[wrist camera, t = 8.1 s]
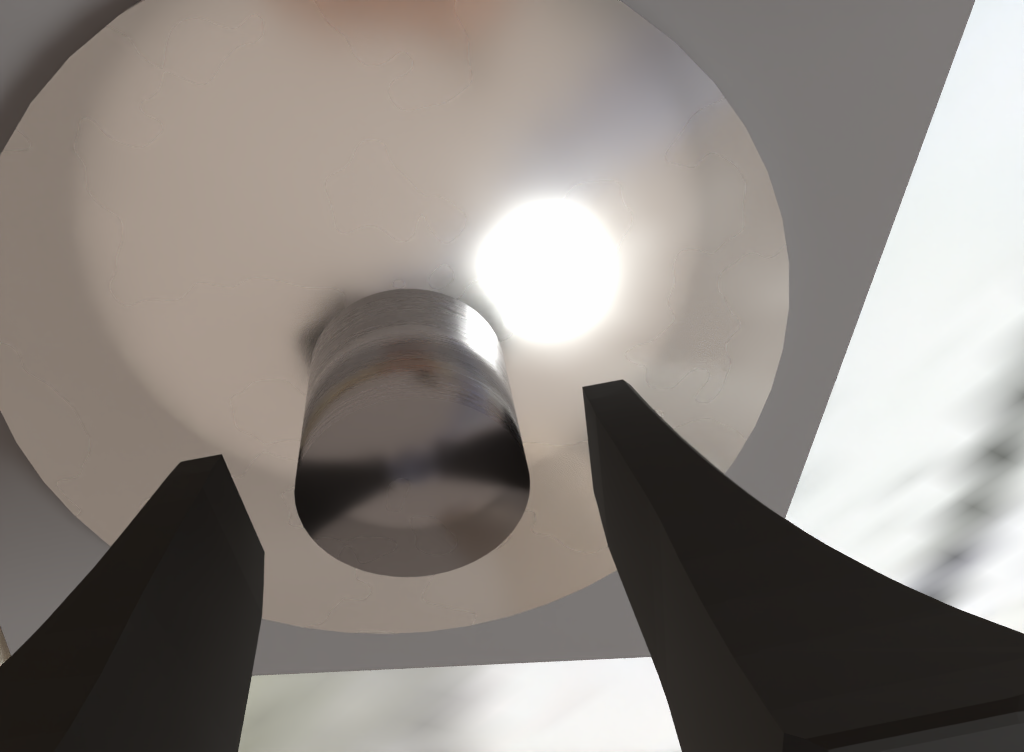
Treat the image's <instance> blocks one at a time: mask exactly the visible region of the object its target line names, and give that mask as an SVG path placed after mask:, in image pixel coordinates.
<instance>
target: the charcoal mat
mask: <svg viewBox="0 0 1024 752" xmlns="http://www.w3.org/2000/svg"><path fill="white" fill-rule="evenodd" d="M139 1H141V0H0V156H1V153H2V151H3V150H4V148H5V146H6V144H7V143H8V141H9V139H10V138H11V136H12V134H13V132H14V131H15V129H16V127H17V126H18V124H19V122H20V121H21V119H22V117H23V115H24V114H25V112H26V110H27V109H28V107H29V105H30V103H31V102H32V101H33V100H34V99H35V97H36V96H37V95H38V94H39V93H40V92H41V90H42V89H43V88H44V87H45V86H46V84H47V83H48V82H49V81H50V80H51V79H52V77H53V76H54V75H55V74H56V73H57V71H58V70H59V69H60V68H61V67H62V65H63V64H64V63H65V62H66V61H67V60H68V58H69V57H70V56H71V55H73V54H74V53H75V52H76V51H77V50H79V49H80V48H81V47H82V46H83V45H84V44H86V43H87V42H88V41H89V40H90V39H92V38H93V37H94V36H95V35H96V34H97V33H99V32H100V31H101V30H102V29H103V28H105V27H106V26H107V25H108V24H109V23H111V22H112V21H113V20H114V19H115V18H116V17H118V16H119V15H120V14H121V13H123V12H124V11H125V10H127V9H128V8H129V7H131V6H133V5H134V4H136V3H138V2H139ZM620 1H622V2H623V3H624V4H626V5H627V6H628V7H630V8H631V9H632V10H634V11H635V12H636V13H638V14H639V15H640V16H642V17H643V18H644V19H645V20H647V21H648V22H649V23H651V24H652V25H653V26H655V27H656V28H657V29H659V30H660V31H661V32H663V33H664V34H665V35H666V36H668V37H669V38H670V39H672V40H673V41H674V42H675V43H676V44H677V45H678V46H679V47H680V48H681V49H682V50H683V51H684V52H685V53H686V54H687V55H688V56H689V57H690V58H691V59H692V60H693V61H694V62H695V63H696V64H697V65H698V66H699V67H700V68H701V70H702V71H703V72H704V73H705V74H706V75H707V76H708V77H709V78H710V79H711V80H712V81H713V82H714V83H715V84H716V86H717V87H718V89H719V90H720V91H721V93H722V94H723V96H724V97H725V99H726V100H727V101H728V103H729V104H730V106H731V107H732V108H733V110H734V111H735V113H736V114H737V115H738V117H739V118H740V120H741V121H742V123H743V124H744V125H745V127H746V129H747V131H748V133H749V135H750V137H751V139H752V141H753V143H754V145H755V147H756V149H757V151H758V153H759V155H760V157H761V159H762V161H763V163H764V165H765V167H766V169H767V171H768V174H769V177H770V181H771V184H772V187H773V190H774V193H775V197H776V200H777V203H778V206H779V209H780V212H781V216H782V220H783V227H784V233H785V240H786V246H787V253H788V260H789V311H788V318H787V325H786V332H785V338H784V345H783V351H782V354H781V358H780V361H779V365H778V368H777V371H776V375H775V378H774V382H773V385H772V389H771V391H770V393H769V396H768V398H767V400H766V402H765V405H764V407H763V409H762V412H761V414H760V416H759V418H758V421H757V423H756V425H755V427H754V429H753V431H752V432H751V434H750V436H749V437H748V439H747V441H746V442H745V444H744V446H743V447H742V449H741V451H740V452H739V454H738V456H737V457H736V459H735V461H734V462H733V463H732V465H731V466H730V467H729V469H728V470H727V471H726V472H725V475H726V476H727V477H729V478H730V479H731V480H733V481H734V482H735V483H736V484H738V485H739V486H740V487H742V488H743V489H744V490H745V491H747V492H748V493H749V494H751V495H752V496H753V497H755V498H756V499H757V500H759V501H760V502H762V503H763V504H764V505H766V506H767V507H768V508H770V509H771V510H773V511H774V512H776V513H777V514H779V515H780V516H781V517H783V518H785V517H786V514H787V511H788V509H789V506H790V503H791V500H792V498H793V495H794V492H795V490H796V487H797V484H798V481H799V479H800V476H801V473H802V471H803V468H804V465H805V462H806V460H807V457H808V454H809V451H810V449H811V446H812V443H813V441H814V438H815V435H816V432H817V430H818V427H819V424H820V422H821V419H822V416H823V413H824V411H825V408H826V405H827V402H828V400H829V397H830V394H831V392H832V389H833V386H834V383H835V381H836V378H837V375H838V373H839V370H840V367H841V364H842V362H843V359H844V356H845V353H846V351H847V348H848V345H849V343H850V340H851V337H852V334H853V332H854V329H855V326H856V323H857V321H858V318H859V315H860V313H861V310H862V307H863V304H864V302H865V299H866V296H867V294H868V291H869V288H870V285H871V283H872V280H873V277H874V274H875V272H876V269H877V266H878V264H879V261H880V258H881V255H882V253H883V250H884V247H885V245H886V242H887V239H888V236H889V234H890V231H891V228H892V225H893V223H894V220H895V217H896V215H897V212H898V209H899V206H900V204H901V201H902V198H903V196H904V193H905V190H906V187H907V185H908V182H909V179H910V176H911V174H912V171H913V168H914V166H915V163H916V160H917V157H918V155H919V152H920V149H921V146H922V144H923V141H924V138H925V136H926V133H927V130H928V127H929V125H930V122H931V119H932V117H933V114H934V111H935V108H936V106H937V103H938V100H939V97H940V95H941V92H942V89H943V87H944V84H945V81H946V78H947V76H948V73H949V70H950V68H951V65H952V62H953V59H954V57H955V54H956V51H957V48H958V46H959V43H960V40H961V38H962V35H963V32H964V29H965V27H966V24H967V21H968V19H969V16H970V13H971V10H972V8H973V5H974V2H975V0H620ZM110 547H111V546H110V545H108V544H107V543H106V542H105V541H103V540H102V539H101V538H100V537H99V536H98V535H97V534H95V533H94V532H93V531H92V530H91V529H90V528H88V527H87V526H86V525H85V524H84V523H83V522H82V521H80V520H79V519H78V518H77V517H76V516H75V515H74V514H73V513H72V512H71V511H70V510H69V509H68V508H67V507H66V506H65V505H64V503H63V502H62V501H61V500H60V499H59V498H58V497H57V496H56V495H55V494H54V492H53V491H52V490H51V489H50V488H49V487H48V486H47V485H46V484H45V483H44V481H43V480H42V479H41V477H40V476H39V474H38V473H37V471H36V470H35V469H34V467H33V466H32V464H31V463H30V461H29V460H28V459H27V457H26V456H25V454H24V453H23V451H22V450H21V448H20V447H19V446H18V444H17V443H16V441H15V439H14V437H13V435H12V433H11V431H10V429H9V427H8V425H7V423H6V421H5V419H4V417H3V415H2V413H1V411H0V626H1V629H2V632H3V635H4V637H5V640H6V643H7V646H8V648H9V651H10V654H11V656H12V655H13V654H14V653H15V652H16V651H17V650H18V649H19V648H20V647H21V646H22V645H23V644H24V643H25V642H26V641H27V640H28V639H29V638H30V637H31V636H32V635H33V634H34V633H35V632H36V631H37V630H38V628H39V627H40V626H41V625H42V624H43V623H44V622H45V621H46V620H47V619H48V618H49V617H50V616H51V614H52V613H53V612H54V611H55V610H56V609H57V608H58V607H59V606H60V604H61V603H62V602H63V601H64V600H65V599H66V598H67V597H68V595H69V594H70V593H71V592H72V591H73V590H74V589H75V588H76V587H77V585H78V584H79V583H80V582H81V581H82V580H83V579H84V578H85V577H86V575H87V574H88V573H89V572H90V571H91V570H92V569H93V568H94V566H95V565H96V564H97V563H98V562H99V560H100V559H101V558H102V557H103V556H104V554H105V553H106V552H107V551H108V550H109V548H110ZM636 657H651V655H650V652H649V650H648V647H647V645H646V642H645V640H644V637H643V635H642V632H641V630H640V627H639V625H638V622H637V619H636V617H635V614H634V612H633V609H632V607H631V604H630V602H629V599H628V597H627V594H626V592H625V589H624V586H623V584H622V581H621V579H620V576H619V574H618V571H615V572H613V573H611V574H609V575H607V576H605V577H604V578H602V579H600V580H598V581H596V582H594V583H593V584H591V585H589V586H587V587H585V588H583V589H581V590H579V591H576V592H574V593H572V594H569V595H567V596H565V597H563V598H560V599H558V600H556V601H553V602H551V603H549V604H546V605H543V606H540V607H537V608H534V609H531V610H528V611H525V612H522V613H519V614H515V615H512V616H509V617H505V618H501V619H497V620H493V621H488V622H484V623H480V624H475V625H471V626H465V627H458V628H451V629H444V630H437V631H430V632H414V633H396V634H373V633H345V632H336V631H328V630H319V629H311V628H304V627H299V626H294V625H289V624H284V623H280V622H275V621H270V620H265V619H261V625H260V631H259V637H258V643H257V649H256V654H255V660H254V666H253V671H252V676H255V675H276V674H297V673H318V672H340V671H361V670H382V669H403V668H424V667H445V666H467V665H488V664H509V663H530V662H551V661H572V660H594V659H615V658H636Z"/></svg>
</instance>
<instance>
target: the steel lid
mask: <svg viewBox="0 0 1024 752" xmlns="http://www.w3.org/2000/svg"><path fill="white" fill-rule="evenodd" d="M788 311H789V260H788V253H787V246H786V240H785V233H784V227H783V220H782V216H781V212H780V209H779V206H778V203H777V200H776V197H775V193H774V190H773V187H772V184H771V181H770V177H769V174H768V171H767V169H766V167H765V165H764V163H763V161H762V159H761V157H760V155H759V153H758V151H757V149H756V147H755V145H754V143H753V141H752V139H751V137H750V135H749V133H748V131H747V129H746V127H745V125H744V124H743V123H742V121H741V120H740V118H739V117H738V115H737V114H736V113H735V111H734V110H733V108H732V107H731V106H730V104H729V103H728V101H727V100H726V99H725V97H724V96H723V94H722V93H721V91H720V90H719V89H718V87H717V86H716V84H715V83H714V82H713V81H712V80H711V79H710V78H709V77H708V76H707V75H706V74H705V73H704V72H703V71H702V70H701V68H700V67H699V66H698V65H697V64H696V63H695V62H694V61H693V60H692V59H691V58H690V57H689V56H688V55H687V54H686V53H685V52H684V51H683V50H682V49H681V48H680V47H679V46H678V45H677V44H676V43H675V42H674V41H673V40H672V39H670V38H669V37H668V36H666V35H665V34H664V33H663V32H661V31H660V30H659V29H657V28H656V27H655V26H653V25H652V24H651V23H649V22H648V21H647V20H645V19H644V18H643V17H642V16H640V15H639V14H638V13H636V12H635V11H634V10H632V9H631V8H630V7H628V6H627V5H626V4H624V3H623V2H622V1H620V0H141V1H139V2H138V3H136V4H134V5H133V6H131V7H129V8H128V9H127V10H125V11H124V12H123V13H121V14H120V15H119V16H118V17H116V18H115V19H114V20H113V21H112V22H111V23H109V24H108V25H107V26H106V27H105V28H103V29H102V30H101V31H100V32H99V33H97V34H96V35H95V36H94V37H93V38H92V39H90V40H89V41H88V42H87V43H86V44H84V45H83V46H82V47H81V48H80V49H79V50H77V51H76V52H75V53H74V54H73V55H71V56H70V57H69V58H68V60H67V61H66V62H65V63H64V64H63V65H62V67H61V68H60V69H59V70H58V71H57V73H56V74H55V75H54V76H53V77H52V79H51V80H50V81H49V82H48V83H47V84H46V86H45V87H44V88H43V89H42V90H41V92H40V93H39V94H38V95H37V96H36V97H35V99H34V100H33V101H32V102H31V103H30V105H29V107H28V109H27V110H26V112H25V114H24V115H23V117H22V119H21V121H20V122H19V124H18V126H17V127H16V129H15V131H14V132H13V134H12V136H11V138H10V139H9V141H8V143H7V144H6V146H5V148H4V150H3V151H2V153H1V156H0V411H1V413H2V415H3V417H4V419H5V421H6V423H7V425H8V427H9V429H10V431H11V433H12V435H13V437H14V439H15V441H16V443H17V444H18V446H19V447H20V448H21V450H22V451H23V453H24V454H25V456H26V457H27V459H28V460H29V461H30V463H31V464H32V466H33V467H34V469H35V470H36V471H37V473H38V474H39V476H40V477H41V479H42V480H43V481H44V483H45V484H46V485H47V486H48V487H49V488H50V489H51V490H52V491H53V492H54V494H55V495H56V496H57V497H58V498H59V499H60V500H61V501H62V502H63V503H64V505H65V506H66V507H67V508H68V509H69V510H70V511H71V512H72V513H73V514H74V515H75V516H76V517H77V518H78V519H79V520H80V521H82V522H83V523H84V524H85V525H86V526H87V527H88V528H90V529H91V530H92V531H93V532H94V533H95V534H97V535H98V536H99V537H100V538H101V539H102V540H103V541H105V542H106V543H107V544H108V545H110V546H112V545H113V543H114V542H115V541H116V540H117V539H118V537H119V536H120V535H121V534H122V533H123V531H124V530H125V529H126V528H127V526H128V525H129V524H130V523H131V522H132V520H133V519H134V518H135V517H136V515H137V514H138V513H139V512H140V510H141V509H142V508H143V507H144V505H145V504H146V503H147V501H148V500H149V499H150V498H151V496H152V495H153V494H154V493H155V491H156V490H157V489H158V488H159V486H160V485H161V484H162V483H163V482H164V480H165V479H166V478H167V477H168V475H169V474H170V473H171V472H172V471H173V470H174V468H175V467H176V466H177V465H178V464H179V463H180V462H182V461H187V460H192V459H198V458H203V457H208V456H214V455H219V454H222V456H223V458H224V460H225V462H226V465H227V467H228V469H229V472H230V474H231V476H232V478H233V481H234V483H235V485H236V488H237V490H238V492H239V495H240V497H241V499H242V501H243V504H244V506H245V508H246V511H247V513H248V515H249V517H250V520H251V522H252V524H253V527H254V529H255V531H256V533H257V536H258V538H259V540H260V543H261V545H262V547H263V549H264V552H265V557H264V591H263V609H262V619H265V620H270V621H275V622H280V623H284V624H289V625H294V626H299V627H304V628H311V629H319V630H328V631H336V632H345V633H373V634H396V633H414V632H430V631H437V630H444V629H451V628H458V627H465V626H471V625H475V624H480V623H484V622H488V621H493V620H497V619H501V618H505V617H509V616H512V615H515V614H519V613H522V612H525V611H528V610H531V609H534V608H537V607H540V606H543V605H546V604H549V603H551V602H553V601H556V600H558V599H560V598H563V597H565V596H567V595H569V594H572V593H574V592H576V591H579V590H581V589H583V588H585V587H587V586H589V585H591V584H593V583H594V582H596V581H598V580H600V579H602V578H604V577H605V576H607V575H609V574H611V573H613V572H615V571H617V569H616V566H615V563H614V561H613V558H612V556H611V553H610V550H609V548H608V544H607V540H606V537H605V533H604V529H603V525H602V522H601V518H600V514H599V510H598V506H597V502H596V498H595V495H594V491H593V483H592V474H591V464H590V455H589V446H588V437H587V427H586V418H585V409H584V399H583V390H582V387H584V386H589V385H595V384H600V383H606V382H611V381H616V380H622V379H623V380H625V381H626V382H627V383H629V384H630V385H631V386H632V387H633V388H634V389H635V390H636V391H637V392H638V394H639V395H640V396H641V397H642V398H643V399H644V400H645V401H646V402H647V403H648V404H649V405H650V406H651V407H652V408H653V409H654V410H655V411H656V412H657V414H658V415H659V416H661V417H662V418H663V419H664V420H665V421H666V422H667V423H668V424H669V425H670V426H671V427H672V428H673V429H674V430H675V431H676V432H677V433H678V434H679V435H680V436H681V437H682V438H683V439H684V440H686V441H687V442H688V443H689V444H690V445H691V446H692V447H694V448H695V449H696V450H697V451H698V452H699V453H700V454H701V455H703V456H704V457H705V458H706V459H707V460H708V461H709V462H711V463H712V464H713V465H714V466H715V467H716V468H718V469H719V470H720V471H721V472H723V473H724V474H725V472H726V471H727V470H728V469H729V467H730V466H731V465H732V463H733V462H734V461H735V459H736V457H737V456H738V454H739V452H740V451H741V449H742V447H743V446H744V444H745V442H746V441H747V439H748V437H749V436H750V434H751V432H752V431H753V429H754V427H755V425H756V423H757V421H758V418H759V416H760V414H761V412H762V409H763V407H764V405H765V402H766V400H767V398H768V396H769V393H770V391H771V389H772V385H773V382H774V378H775V375H776V371H777V368H778V365H779V361H780V358H781V354H782V351H783V345H784V338H785V332H786V325H787V318H788Z"/></svg>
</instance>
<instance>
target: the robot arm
mask: <svg viewBox="0 0 1024 752" xmlns="http://www.w3.org/2000/svg"><path fill="white" fill-rule="evenodd" d="M582 390H583V399H584V409H585V418H586V427H587V437H588V446H589V455H590V464H591V474H592V483H593V491H594V495H595V498H596V502H597V506H598V510H599V514H600V518H601V522H602V525H603V529H604V533H605V537H606V540H607V544H608V548H609V550H610V553H611V556H612V558H613V561H614V563H615V566H616V569H617V571H618V574H619V576H620V579H621V581H622V584H623V586H624V589H625V592H626V594H627V597H628V599H629V602H630V604H631V607H632V609H633V612H634V614H635V617H636V619H637V622H638V625H639V627H640V630H641V632H642V635H643V637H644V640H645V642H646V645H647V647H648V650H649V652H650V655H651V657H652V660H653V663H654V665H655V668H656V670H657V673H658V675H659V678H660V681H661V684H662V687H663V690H664V693H665V696H666V698H667V701H668V704H669V708H670V711H671V715H672V718H673V722H674V725H675V729H676V732H677V736H678V739H679V743H680V746H681V750H682V752H1024V634H1023V633H1021V632H1018V631H1015V630H1012V629H1010V628H1007V627H1004V626H1002V625H999V624H996V623H994V622H991V621H988V620H986V619H983V618H980V617H978V616H975V615H972V614H970V613H967V612H964V611H962V610H959V609H957V608H955V607H952V606H950V605H947V604H945V603H943V602H941V601H938V600H936V599H934V598H932V597H930V596H927V595H925V594H923V593H921V592H918V591H916V590H914V589H912V588H909V587H907V586H905V585H903V584H901V583H899V582H896V581H894V580H892V579H890V578H888V577H886V576H884V575H882V574H880V573H878V572H876V571H874V570H873V569H871V568H869V567H867V566H865V565H863V564H861V563H859V562H858V561H856V560H854V559H852V558H850V557H848V556H846V555H844V554H842V553H841V552H839V551H837V550H835V549H833V548H831V547H829V546H828V545H826V544H824V543H823V542H821V541H819V540H818V539H816V538H814V537H813V536H811V535H809V534H808V533H806V532H804V531H803V530H801V529H800V528H798V527H797V526H795V525H794V524H792V523H791V522H789V521H788V520H786V519H785V518H783V517H781V516H780V515H779V514H777V513H776V512H774V511H773V510H771V509H770V508H768V507H767V506H766V505H764V504H763V503H762V502H760V501H759V500H757V499H756V498H755V497H753V496H752V495H751V494H749V493H748V492H747V491H745V490H744V489H743V488H742V487H740V486H739V485H738V484H736V483H735V482H734V481H733V480H731V479H730V478H729V477H727V476H726V475H725V474H724V473H723V472H721V471H720V470H719V469H718V468H716V467H715V466H714V465H713V464H712V463H711V462H709V461H708V460H707V459H706V458H705V457H704V456H703V455H701V454H700V453H699V452H698V451H697V450H696V449H695V448H694V447H692V446H691V445H690V444H689V443H688V442H687V441H686V440H684V439H683V438H682V437H681V436H680V435H679V434H678V433H677V432H676V431H675V430H674V429H673V428H672V427H671V426H670V425H669V424H668V423H667V422H666V421H665V420H664V419H663V418H662V417H661V416H659V415H658V414H657V412H656V411H655V410H654V409H653V408H652V407H651V406H650V405H649V404H648V403H647V402H646V401H645V400H644V399H643V398H642V397H641V396H640V395H639V394H638V392H637V391H636V390H635V389H634V388H633V387H632V386H631V385H630V384H629V383H627V382H626V381H625V380H623V379H622V380H616V381H611V382H606V383H600V384H595V385H589V386H584V387H582ZM264 557H265V552H264V549H263V547H262V545H261V543H260V540H259V538H258V536H257V533H256V531H255V529H254V527H253V524H252V522H251V520H250V517H249V515H248V513H247V511H246V508H245V506H244V504H243V501H242V499H241V497H240V495H239V492H238V490H237V488H236V485H235V483H234V481H233V478H232V476H231V474H230V472H229V469H228V467H227V465H226V462H225V460H224V458H223V456H222V454H219V455H214V456H208V457H203V458H198V459H192V460H187V461H182V462H180V463H179V464H178V465H177V466H176V467H175V468H174V470H173V471H172V472H171V473H170V474H169V475H168V477H167V478H166V479H165V480H164V482H163V483H162V484H161V485H160V486H159V488H158V489H157V490H156V491H155V493H154V494H153V495H152V496H151V498H150V499H149V500H148V501H147V503H146V504H145V505H144V507H143V508H142V509H141V510H140V512H139V513H138V514H137V515H136V517H135V518H134V519H133V520H132V522H131V523H130V524H129V525H128V526H127V528H126V529H125V530H124V531H123V533H122V534H121V535H120V536H119V537H118V539H117V540H116V541H115V542H114V543H113V545H112V546H111V547H110V548H109V550H108V551H107V552H106V553H105V554H104V556H103V557H102V558H101V559H100V560H99V562H98V563H97V564H96V565H95V566H94V568H93V569H92V570H91V571H90V572H89V573H88V574H87V575H86V577H85V578H84V579H83V580H82V581H81V582H80V583H79V584H78V585H77V587H76V588H75V589H74V590H73V591H72V592H71V593H70V594H69V595H68V597H67V598H66V599H65V600H64V601H63V602H62V603H61V604H60V606H59V607H58V608H57V609H56V610H55V611H54V612H53V613H52V614H51V616H50V617H49V618H48V619H47V620H46V621H45V622H44V623H43V624H42V625H41V626H40V627H39V628H38V630H37V631H36V632H35V633H34V634H33V635H32V636H31V637H30V638H29V639H28V640H27V641H26V642H25V643H24V644H23V645H22V646H21V647H20V648H19V649H18V650H17V651H16V652H15V653H14V654H13V655H12V656H11V657H10V658H9V659H8V660H6V661H5V662H4V663H3V664H2V665H1V666H0V752H238V748H239V743H240V737H241V732H242V726H243V721H244V715H245V710H246V704H247V699H248V693H249V688H250V682H251V677H252V671H253V666H254V660H255V654H256V649H257V643H258V637H259V631H260V625H261V619H262V609H263V591H264Z"/></svg>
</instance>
